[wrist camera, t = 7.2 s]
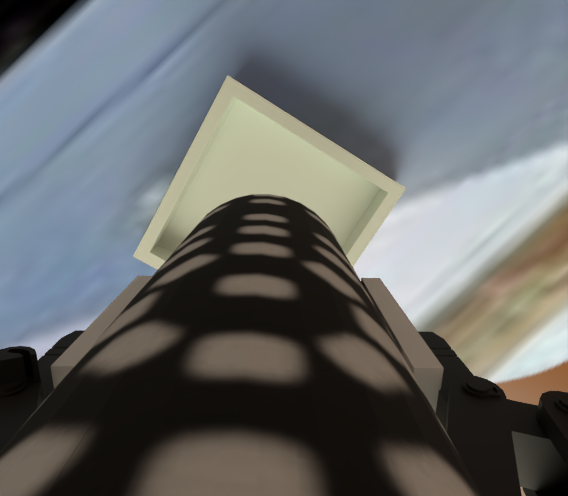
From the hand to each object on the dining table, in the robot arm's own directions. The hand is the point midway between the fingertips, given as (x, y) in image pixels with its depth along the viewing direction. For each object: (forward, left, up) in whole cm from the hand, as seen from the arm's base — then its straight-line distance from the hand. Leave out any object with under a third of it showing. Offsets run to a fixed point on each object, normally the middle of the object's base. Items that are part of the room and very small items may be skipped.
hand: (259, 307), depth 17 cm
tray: (0, 0, -19) cm, 19 cm away
